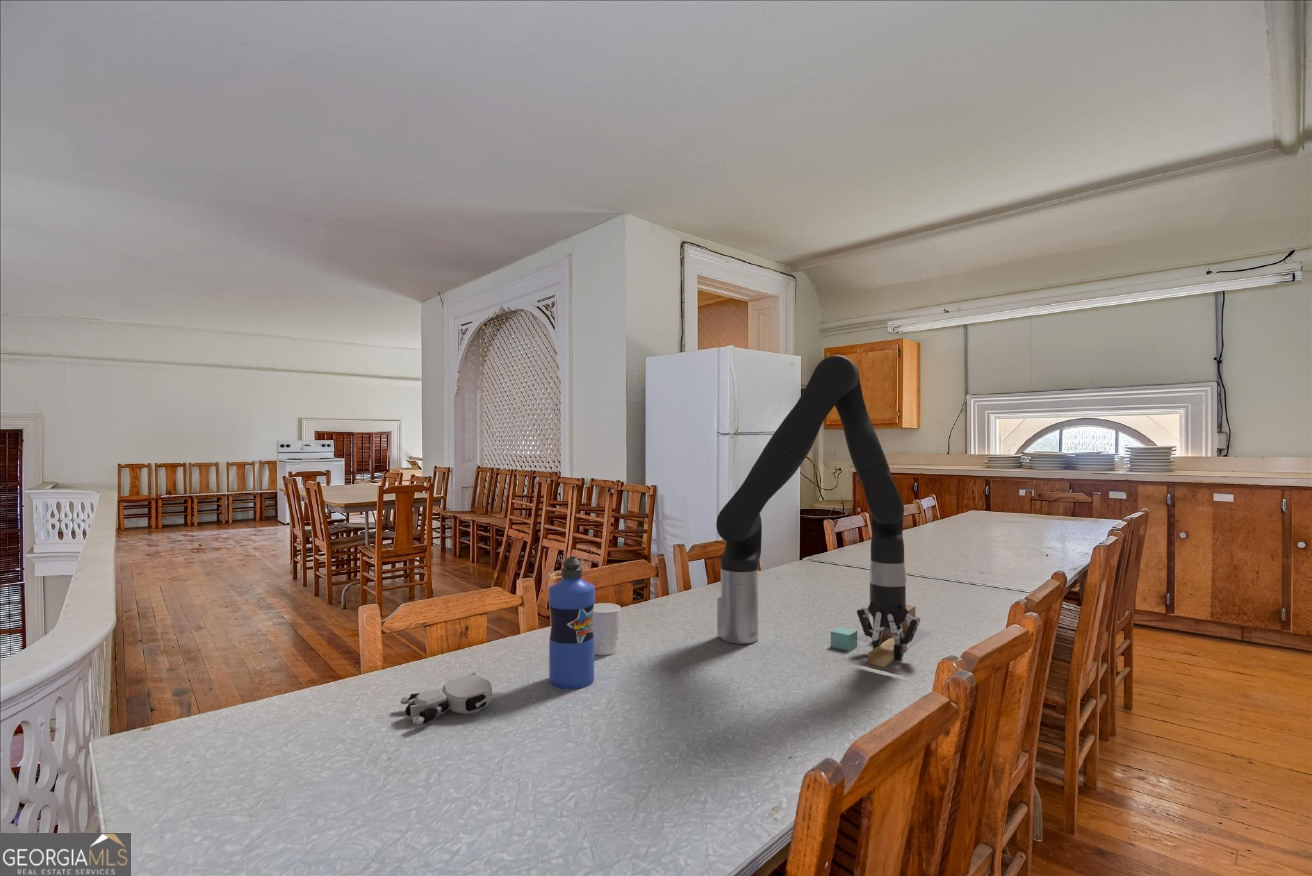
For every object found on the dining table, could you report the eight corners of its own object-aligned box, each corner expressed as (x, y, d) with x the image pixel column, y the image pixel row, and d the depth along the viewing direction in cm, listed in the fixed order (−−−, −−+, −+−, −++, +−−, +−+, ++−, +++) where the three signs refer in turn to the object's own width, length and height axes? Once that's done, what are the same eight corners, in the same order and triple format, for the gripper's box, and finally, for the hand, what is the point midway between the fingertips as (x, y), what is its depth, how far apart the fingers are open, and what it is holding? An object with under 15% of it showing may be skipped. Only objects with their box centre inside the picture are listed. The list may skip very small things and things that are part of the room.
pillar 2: (888, 630, 157) (888, 606, 157) (895, 626, 161) (895, 603, 161) (908, 634, 154) (908, 610, 154) (915, 630, 158) (915, 606, 158)
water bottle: (604, 680, 127) (604, 557, 127) (568, 694, 120) (568, 564, 120) (574, 668, 133) (575, 551, 133) (539, 681, 126) (539, 557, 126)
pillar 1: (872, 640, 150) (872, 615, 150) (880, 635, 153) (880, 611, 153) (893, 644, 146) (893, 619, 146) (901, 639, 150) (901, 614, 150)
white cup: (580, 653, 143) (580, 610, 143) (596, 643, 150) (596, 601, 150) (611, 658, 140) (611, 613, 140) (626, 647, 147) (626, 605, 147)
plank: (867, 666, 135) (867, 653, 135) (891, 650, 145) (891, 637, 145) (883, 670, 132) (883, 656, 132) (906, 653, 143) (906, 640, 143)
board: (856, 642, 151) (856, 638, 151) (884, 625, 164) (884, 622, 164) (906, 653, 143) (906, 649, 143) (931, 634, 157) (931, 631, 157)
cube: (830, 650, 145) (830, 631, 145) (839, 645, 149) (839, 626, 149) (849, 654, 142) (849, 635, 142) (857, 649, 146) (857, 630, 146)
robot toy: (414, 742, 103) (502, 713, 112) (412, 715, 103) (500, 688, 111) (398, 714, 113) (480, 690, 122) (397, 690, 113) (478, 667, 122)
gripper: (850, 579, 141) (850, 656, 141) (914, 589, 131) (915, 671, 131) (863, 574, 146) (863, 647, 146) (926, 582, 137) (926, 661, 137)
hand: (888, 658), depth 139 cm, fingers closed on plank, 3 cm apart
